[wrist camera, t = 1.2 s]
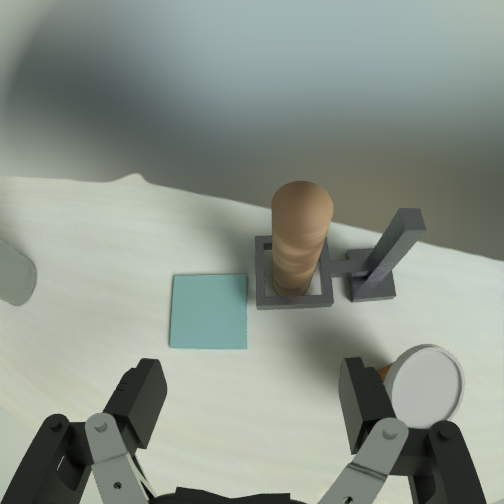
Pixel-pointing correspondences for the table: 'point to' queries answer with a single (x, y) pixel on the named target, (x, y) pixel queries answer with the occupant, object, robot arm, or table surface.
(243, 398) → the table surface
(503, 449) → the table surface
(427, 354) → the disposable coffee cup
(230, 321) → the felt coaster
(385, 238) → the ring stand
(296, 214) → the walnut rod
